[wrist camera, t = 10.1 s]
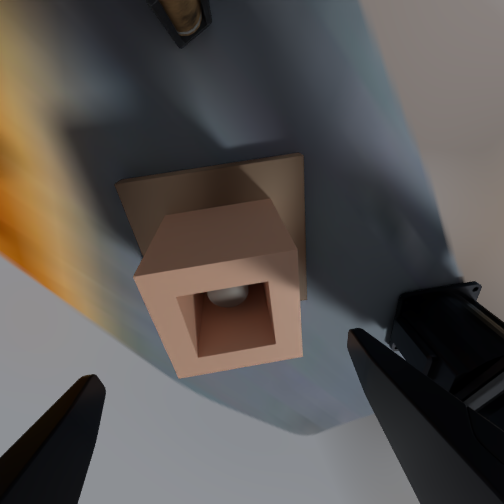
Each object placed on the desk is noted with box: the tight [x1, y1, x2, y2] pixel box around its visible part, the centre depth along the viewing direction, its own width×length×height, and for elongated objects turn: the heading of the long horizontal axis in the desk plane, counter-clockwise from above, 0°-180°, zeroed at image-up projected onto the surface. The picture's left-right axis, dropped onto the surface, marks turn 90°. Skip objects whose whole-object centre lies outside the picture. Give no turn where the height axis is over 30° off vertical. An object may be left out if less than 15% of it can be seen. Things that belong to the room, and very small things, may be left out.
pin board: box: [114, 153, 307, 308], centre depth 15 cm, size 10×10×5 cm
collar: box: [133, 198, 303, 379], centre depth 13 cm, size 6×6×6 cm
